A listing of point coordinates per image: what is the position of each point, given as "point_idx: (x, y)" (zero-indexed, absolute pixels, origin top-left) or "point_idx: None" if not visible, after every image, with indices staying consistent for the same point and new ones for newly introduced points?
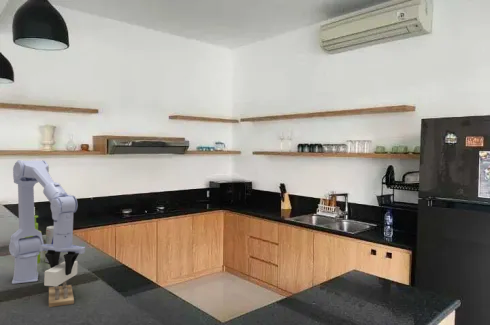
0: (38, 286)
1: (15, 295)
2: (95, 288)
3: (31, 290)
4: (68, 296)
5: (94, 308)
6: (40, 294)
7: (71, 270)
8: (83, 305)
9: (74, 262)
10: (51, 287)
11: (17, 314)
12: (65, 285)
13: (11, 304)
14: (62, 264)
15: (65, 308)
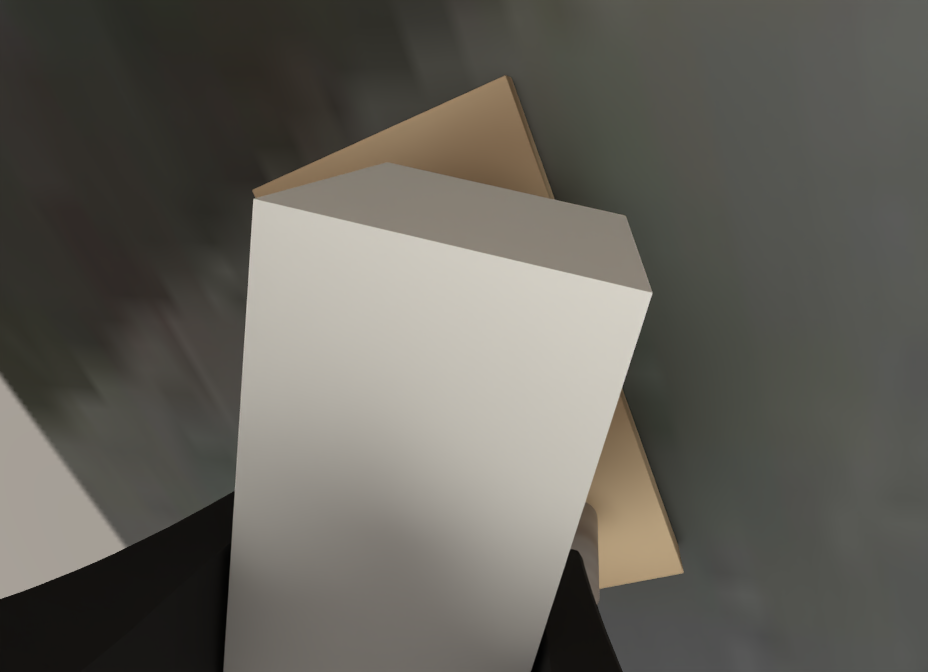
0: (77, 17)
1: (30, 301)
2: (884, 65)
3: (84, 161)
4: (594, 477)
5: (921, 665)
6: (239, 283)
7: (590, 592)
8: (790, 589)
9: (586, 440)
10: (280, 183)
11: None
12: None
13: (134, 496)
14: (324, 578)
15: (624, 626)
